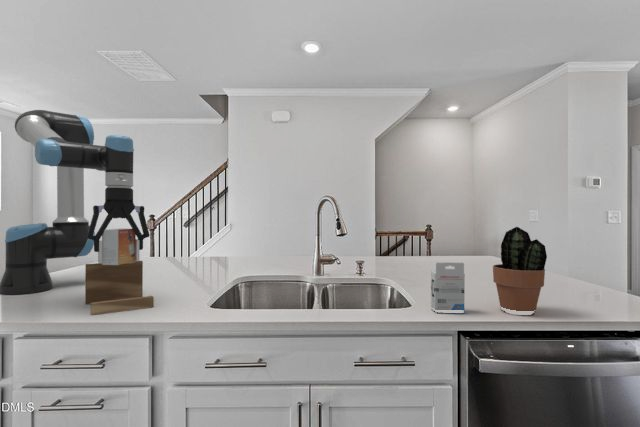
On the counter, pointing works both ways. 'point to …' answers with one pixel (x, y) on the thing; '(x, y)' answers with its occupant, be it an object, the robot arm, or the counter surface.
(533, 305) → the potted plant
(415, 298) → the counter surface
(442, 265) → the ink box
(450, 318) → the counter surface
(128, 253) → the small box
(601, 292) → the counter surface
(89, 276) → the board
